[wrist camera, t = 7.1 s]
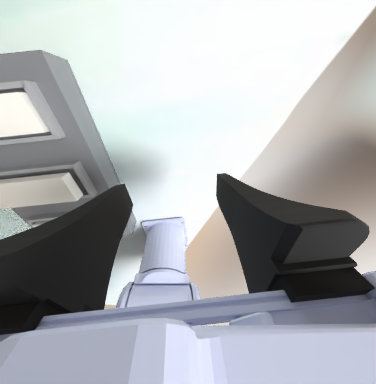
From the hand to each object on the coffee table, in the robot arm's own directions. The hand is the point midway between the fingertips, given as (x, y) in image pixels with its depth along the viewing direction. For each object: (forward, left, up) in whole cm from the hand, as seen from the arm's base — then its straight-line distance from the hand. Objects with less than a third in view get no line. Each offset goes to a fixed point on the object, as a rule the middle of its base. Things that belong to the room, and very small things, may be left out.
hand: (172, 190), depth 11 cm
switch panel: (-1, +16, -9) cm, 19 cm away
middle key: (-1, +16, -5) cm, 17 cm away
